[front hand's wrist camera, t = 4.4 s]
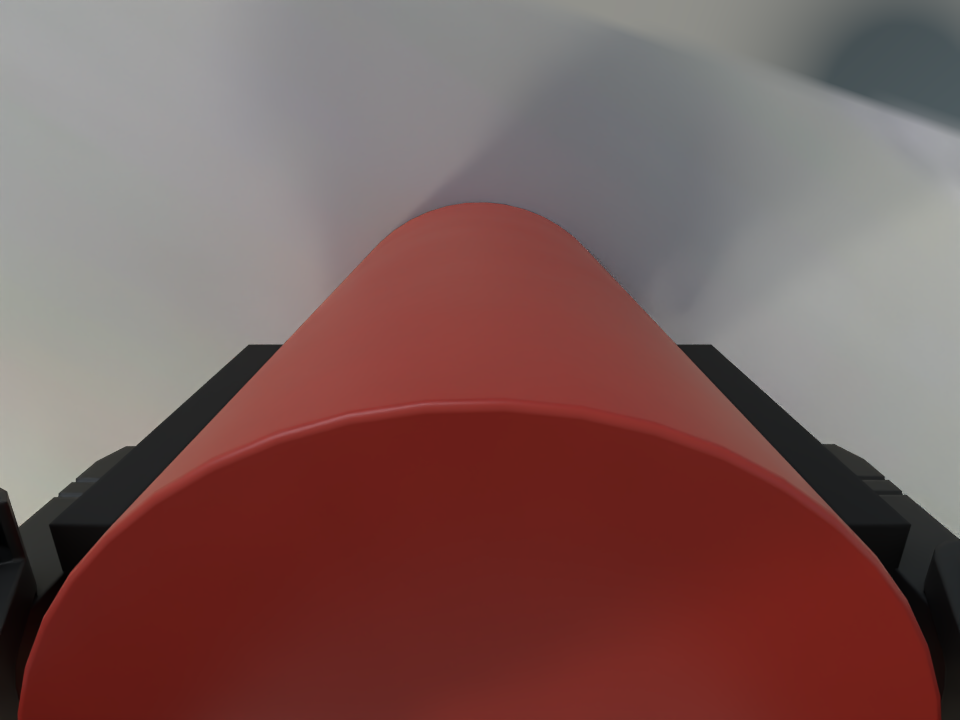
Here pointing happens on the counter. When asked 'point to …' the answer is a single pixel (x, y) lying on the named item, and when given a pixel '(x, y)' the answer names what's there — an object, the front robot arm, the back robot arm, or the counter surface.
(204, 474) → the cylinder
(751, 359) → the counter surface
